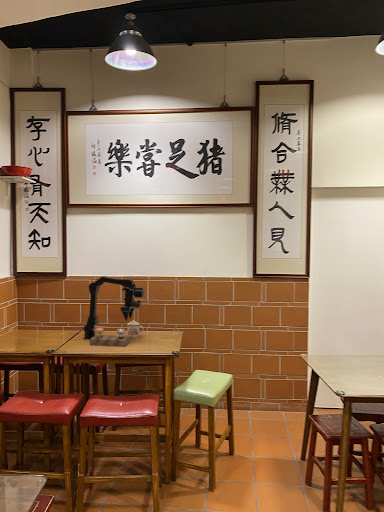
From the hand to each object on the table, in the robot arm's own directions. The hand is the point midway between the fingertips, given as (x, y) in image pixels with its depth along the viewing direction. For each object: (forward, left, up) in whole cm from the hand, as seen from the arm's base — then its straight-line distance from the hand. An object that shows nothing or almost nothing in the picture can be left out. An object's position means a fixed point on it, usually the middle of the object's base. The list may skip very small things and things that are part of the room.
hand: (128, 319), depth 276 cm
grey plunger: (-2, -12, -11) cm, 16 cm away
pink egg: (-17, -12, -11) cm, 23 cm away
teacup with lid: (+2, +12, -15) cm, 19 cm away
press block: (-9, -12, -15) cm, 21 cm away
